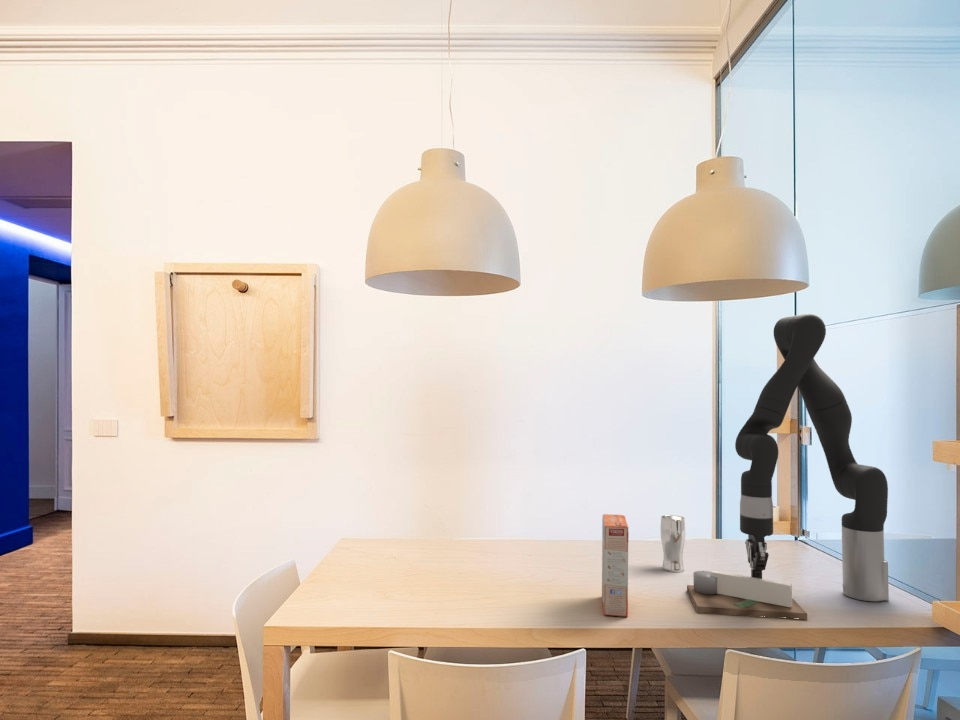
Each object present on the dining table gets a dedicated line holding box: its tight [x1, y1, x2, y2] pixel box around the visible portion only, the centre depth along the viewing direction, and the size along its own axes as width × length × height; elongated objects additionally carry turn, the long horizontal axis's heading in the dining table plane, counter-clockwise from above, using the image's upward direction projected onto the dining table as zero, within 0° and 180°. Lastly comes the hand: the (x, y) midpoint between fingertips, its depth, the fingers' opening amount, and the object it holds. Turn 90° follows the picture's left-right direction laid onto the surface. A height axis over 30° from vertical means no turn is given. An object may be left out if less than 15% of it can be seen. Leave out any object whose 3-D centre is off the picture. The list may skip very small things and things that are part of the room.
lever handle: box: [693, 570, 793, 607], centre depth 153 cm, size 22×6×5 cm, turn 55°
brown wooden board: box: [686, 584, 808, 620], centre depth 152 cm, size 24×16×2 cm, turn 80°
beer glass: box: [659, 514, 686, 573], centre depth 182 cm, size 7×7×15 cm
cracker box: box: [601, 513, 629, 618], centre depth 151 cm, size 14×6×21 cm, turn 170°
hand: (756, 584), depth 153 cm, fingers closed
